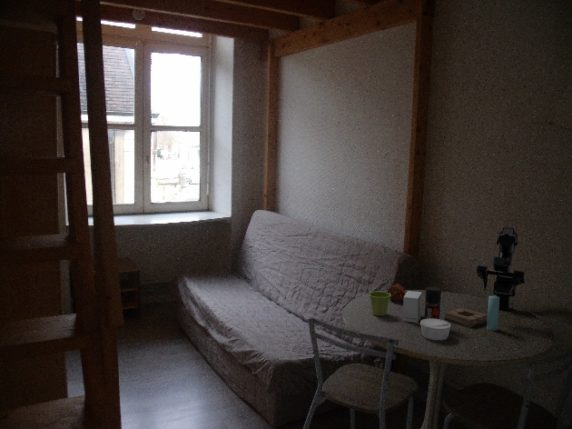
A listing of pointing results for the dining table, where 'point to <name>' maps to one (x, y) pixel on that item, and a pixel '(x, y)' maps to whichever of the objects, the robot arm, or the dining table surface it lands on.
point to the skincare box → (412, 306)
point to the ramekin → (435, 329)
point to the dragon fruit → (396, 292)
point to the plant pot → (379, 302)
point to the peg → (493, 313)
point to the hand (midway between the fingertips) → (496, 291)
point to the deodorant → (432, 303)
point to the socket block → (465, 317)
